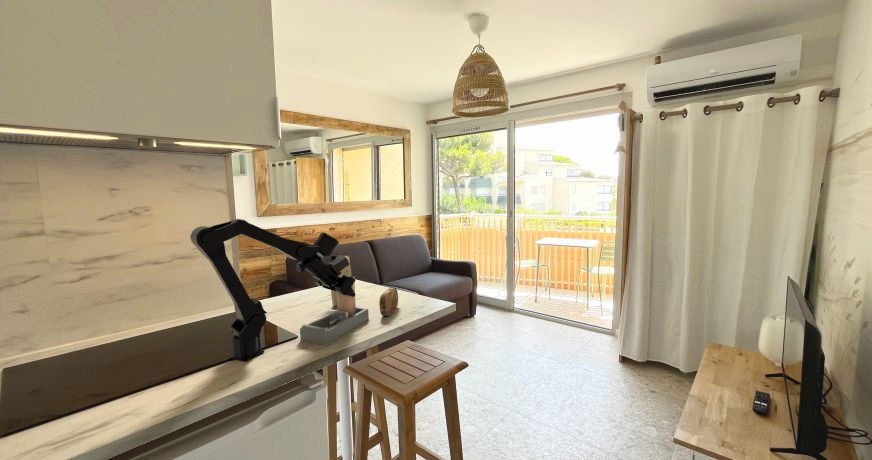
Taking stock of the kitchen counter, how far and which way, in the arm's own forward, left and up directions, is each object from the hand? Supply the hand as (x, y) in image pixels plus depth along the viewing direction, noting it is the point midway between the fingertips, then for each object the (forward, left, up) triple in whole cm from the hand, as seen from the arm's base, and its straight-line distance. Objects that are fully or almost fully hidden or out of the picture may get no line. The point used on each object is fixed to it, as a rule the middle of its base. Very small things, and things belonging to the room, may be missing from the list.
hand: (349, 293), depth 128 cm
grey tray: (-7, +1, -10) cm, 13 cm away
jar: (-1, +1, -7) cm, 7 cm away
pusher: (-8, +1, -9) cm, 12 cm away
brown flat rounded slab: (+14, -7, -11) cm, 19 cm away
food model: (+15, +16, -10) cm, 24 cm away
